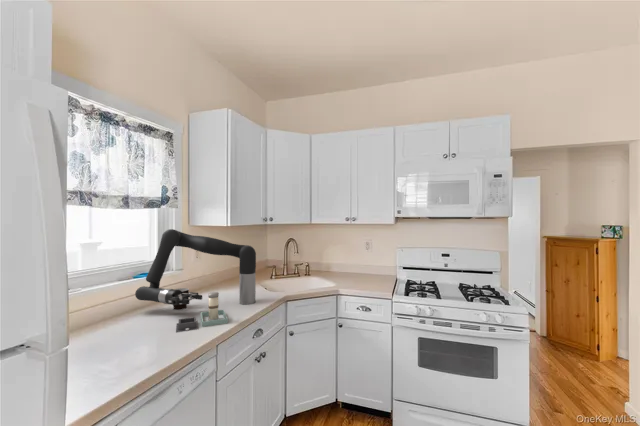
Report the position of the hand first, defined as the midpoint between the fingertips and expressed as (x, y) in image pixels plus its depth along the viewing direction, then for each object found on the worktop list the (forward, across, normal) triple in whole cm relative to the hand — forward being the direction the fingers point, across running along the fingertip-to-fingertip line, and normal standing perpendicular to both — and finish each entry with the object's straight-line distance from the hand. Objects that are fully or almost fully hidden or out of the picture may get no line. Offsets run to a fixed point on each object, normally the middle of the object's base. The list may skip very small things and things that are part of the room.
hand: (195, 299), depth 145 cm
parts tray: (+11, 0, +9) cm, 15 cm away
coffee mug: (-21, +13, +10) cm, 27 cm away
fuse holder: (+6, -11, +9) cm, 16 cm away
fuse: (+11, 0, +9) cm, 14 cm away
